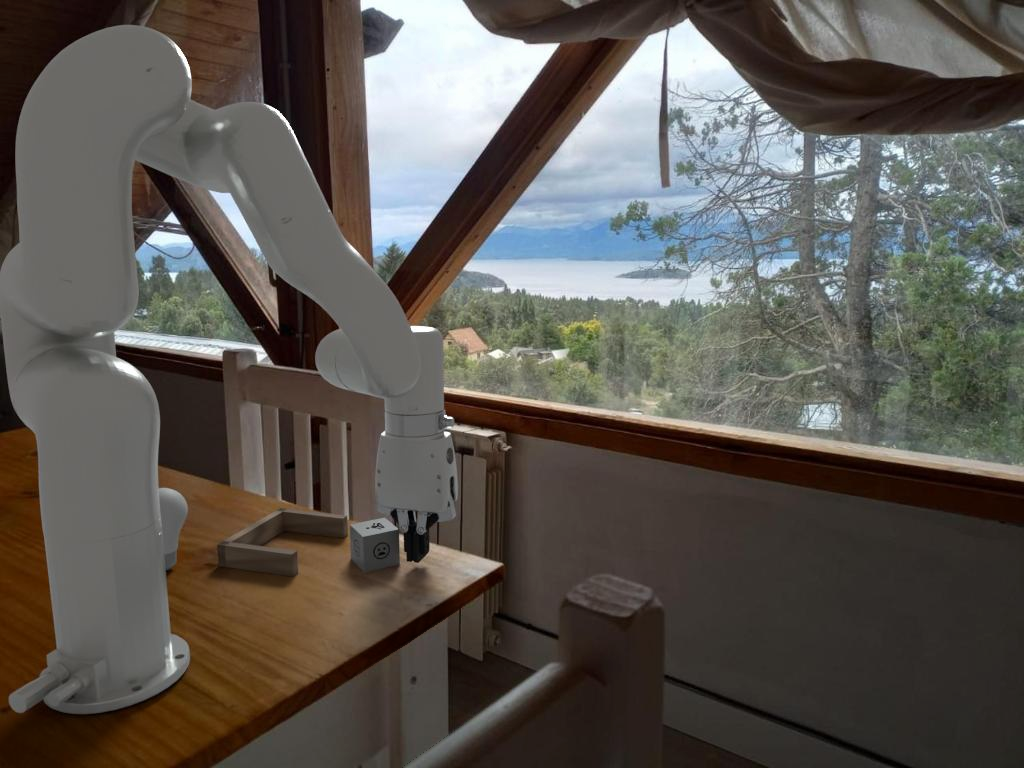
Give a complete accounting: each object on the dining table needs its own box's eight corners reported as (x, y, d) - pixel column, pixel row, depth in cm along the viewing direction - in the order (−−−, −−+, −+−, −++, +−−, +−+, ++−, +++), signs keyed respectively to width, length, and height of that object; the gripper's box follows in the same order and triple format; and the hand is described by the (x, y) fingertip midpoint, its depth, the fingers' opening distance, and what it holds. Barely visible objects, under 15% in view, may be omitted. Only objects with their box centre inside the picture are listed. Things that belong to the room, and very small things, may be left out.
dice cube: (399, 564, 94) (399, 529, 93) (364, 573, 91) (363, 536, 90) (385, 551, 98) (384, 517, 97) (350, 559, 95) (349, 524, 94)
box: (293, 576, 90) (291, 554, 89) (218, 565, 93) (217, 544, 92) (347, 534, 103) (347, 515, 103) (281, 526, 106) (280, 508, 106)
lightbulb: (182, 555, 96) (176, 478, 94) (199, 569, 92) (193, 489, 90) (133, 569, 92) (126, 488, 90) (149, 584, 87) (141, 500, 85)
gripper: (479, 421, 91) (479, 553, 94) (375, 413, 95) (378, 541, 98) (459, 434, 84) (460, 577, 87) (347, 425, 88) (352, 562, 91)
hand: (416, 557), depth 93 cm, fingers closed
